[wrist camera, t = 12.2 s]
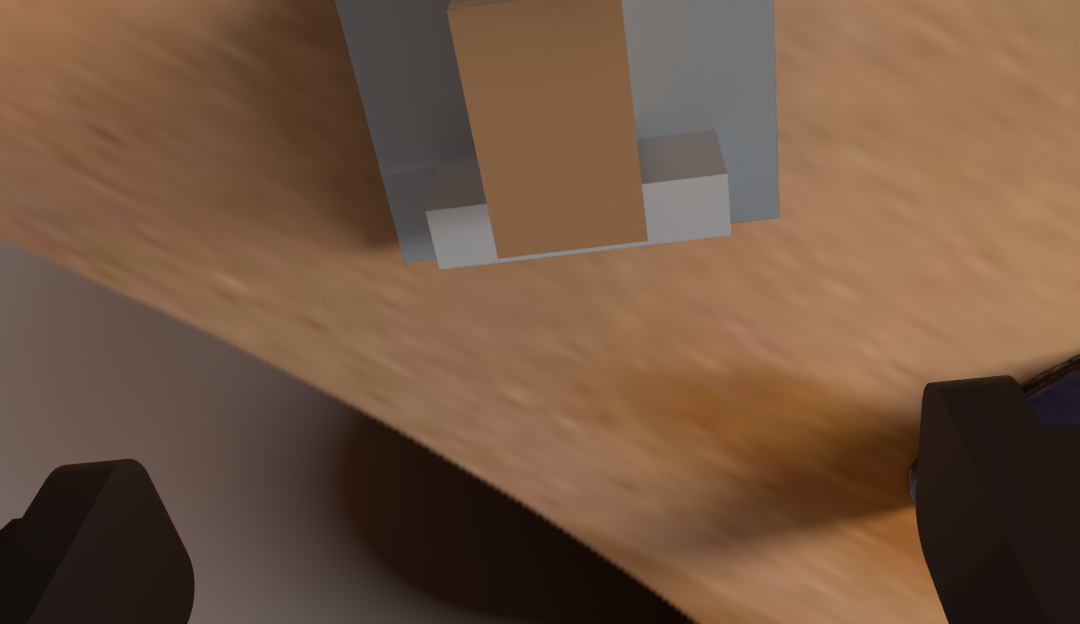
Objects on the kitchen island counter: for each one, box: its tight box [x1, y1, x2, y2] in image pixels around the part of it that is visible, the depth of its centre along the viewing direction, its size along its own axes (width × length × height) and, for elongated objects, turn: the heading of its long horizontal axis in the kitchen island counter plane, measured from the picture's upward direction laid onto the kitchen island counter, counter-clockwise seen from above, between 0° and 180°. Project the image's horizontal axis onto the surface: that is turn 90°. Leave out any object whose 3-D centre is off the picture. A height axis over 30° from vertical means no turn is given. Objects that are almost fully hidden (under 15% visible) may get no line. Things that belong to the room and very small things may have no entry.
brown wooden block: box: [447, 0, 648, 259], centre depth 21 cm, size 5×3×6 cm, turn 9°
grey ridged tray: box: [335, 0, 780, 270], centre depth 23 cm, size 12×10×4 cm
